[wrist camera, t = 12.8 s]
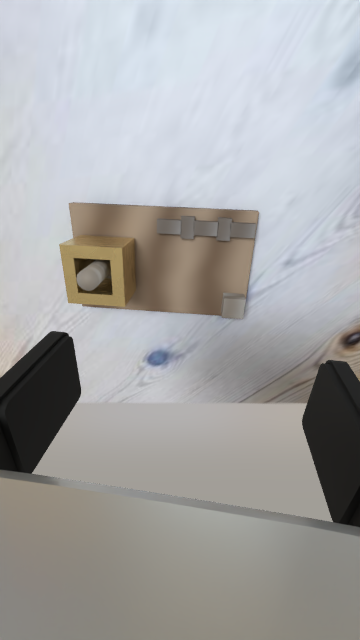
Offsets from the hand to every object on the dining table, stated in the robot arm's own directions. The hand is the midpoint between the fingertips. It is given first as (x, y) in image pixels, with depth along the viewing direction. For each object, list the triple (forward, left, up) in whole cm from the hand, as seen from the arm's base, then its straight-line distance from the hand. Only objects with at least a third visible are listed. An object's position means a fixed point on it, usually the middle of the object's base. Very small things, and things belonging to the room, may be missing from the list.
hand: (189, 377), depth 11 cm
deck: (+4, +2, -24) cm, 24 cm away
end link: (+10, +2, -22) cm, 25 cm away
